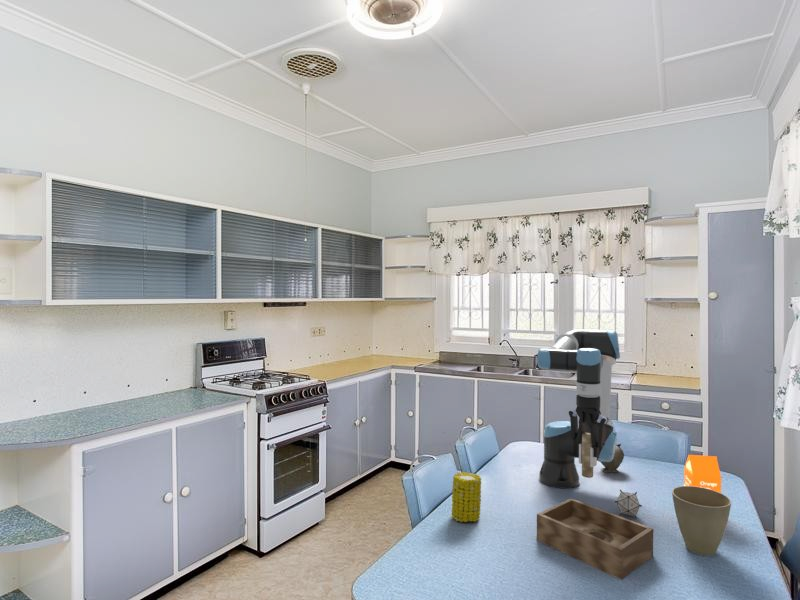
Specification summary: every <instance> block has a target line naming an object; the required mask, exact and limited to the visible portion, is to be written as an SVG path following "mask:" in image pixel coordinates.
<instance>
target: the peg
mask: <svg viewBox="0 0 800 600" xmlns="http://www.w3.org/2000/svg"><path fill="white" fill-rule="evenodd" d="M591 446H593V445H592V439H591V433H582V464H581V476H582V477H584V478H588V479H589V478H590V479H591V478H593V477H594V467H590V447H591Z"/></svg>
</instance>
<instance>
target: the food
mask: <svg viewBox="0 0 800 600" xmlns="http://www.w3.org/2000/svg"><path fill="white" fill-rule="evenodd" d="M452 479H453V480H452V490H451V491H452V496H451V498H452V500H451V502H452V503H451V516H452V518H453V519H454V520H455V521H456V522H460V523H463V522H464V523H468V522H475V523H476V521H479V519H480V518H481V517H480V515H481V503H482V498H481V497H482V495H481V494H482V478H481V476H480V475H479V474H477V473H473V472H470V473H469V472H465V471H461V472H460V471H459V472H457V473H455V474H454V475H453V476H452Z"/></svg>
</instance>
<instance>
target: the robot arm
mask: <svg viewBox="0 0 800 600" xmlns="http://www.w3.org/2000/svg"><path fill="white" fill-rule="evenodd" d="M619 344H620V343H619V336H618V333H617V332H616V331H615V330H610V329H609V330H607V329H605V330H604V329H583V328H582V329H581V328H580V329H578V328H577V329H573V330H572V329H571V330H569V331H566V332H563V333H561V334H560V335H558V336H557V337H556V339H555V341H554V344H553V345H552V346H551V347H550V348H547V347H546V348H539V349H538V351H537V356H536V357H537V358H536V359H537V360H536V361H537V366H538V368H539V369H541V370H546V371H549V370H550V371H565V372H576V396H575V399H576V401H575V402H576V403H575V405H576V408H575V409H572V410H569V411H568V415H569V418H570V421H568V420H560V421H559V420H557V421H553V422H552V421H551V422H549V423H547V424H546V425H545V426H544V433H543V462H542V465H541V468H540V470H539V474H538V475H539V476H538V477H539V478H538V479H539V481H540V483H543V484H545V485H546V486H549V487H554V488H561V489H570V488H575V487H577V486H579V485H580V475H579V474H578V470H577V466H576V464H575V459H578V464H580V465H582V433H591V439H592V445H593V446H591V447H590V467H593V468H594V467H596V466H598V465H597V464H598V462H599V463H601V462H600V461H603V462H610V461H612V460H613V458H614V454H615V449H616V445H617V442H618V441H617V440H618V432H616V431H615V430H614V426H613V425H612V423H610V421H611V420H610V416H611V397H612V396H611V392H612V391H611V390H612V368H613V365H615V364H616V362H617V360H619V359H620V358H621V353H620V345H619Z"/></svg>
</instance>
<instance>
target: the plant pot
mask: <svg viewBox="0 0 800 600" xmlns="http://www.w3.org/2000/svg"><path fill="white" fill-rule="evenodd" d="M671 494H672V495H671V496H672V501H673V502H672V503H673V507H674V512H675V516H676V519H677V524H678V526H679V530H680V533H681V536H682V538H683V542H684V543H685V547H686V548H687V550H689V551H690V552H692V553H695V554H696V555H700V556H708V557H709V556H710V557H711V556H714V555H715V554H716V553H717V551H718V549H719V547H720V545H721V542H722V539H723V537H724V534H725V531H726V528H727V524H728V522H729V517H730V511H731V506H732V500H731V498H729V497H728V496H727V495H726V494H724V493H722V492H721V493H720V492H717V491H714V490H711V489H707V488H702V487H696V486H684V485H681V486H680V485H679V486H676V487H673V488H672V490H671Z"/></svg>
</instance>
